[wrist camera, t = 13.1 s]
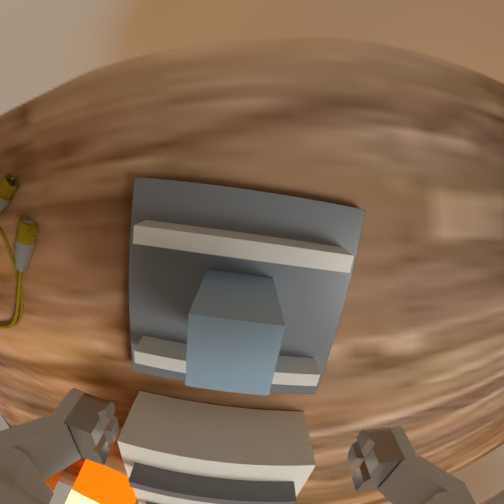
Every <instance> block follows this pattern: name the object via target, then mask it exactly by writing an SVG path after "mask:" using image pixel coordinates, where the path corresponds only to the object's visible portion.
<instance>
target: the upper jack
mask: <svg viewBox="0 0 504 504" xmlns="http://www.w3.org/2000/svg"><path fill="white" fill-rule="evenodd" d="M117 442H118V446H119V449H120V452H121V456H122V459H123V462H124V465H125V468H126V471H127V474H128V477H129V481H128V482H129V485H130V487H132V488H133V490H134V493H135V496H136V498H137V501H138V503H139V504H295V503H296V497H297V495H298V493H299V492H300V490H301V489H302V487H303V486H304V484H305V482H306V481H307V479H308V477H309V476H310V474H311V473H312V471H313V469H314V467H315V466H316V463H315V459H314V454H313V450H312V445H311V441H310V436H309V432H308V427H307V423H306V418H305V414H304V411H277V410H261V409H249V408H238V407H229V406H221V405H213V404H206V403H200V402H194V401H188V400H182V399H176V398H171V397H166V396H161V395H157V394H152V393H148V392H143V391H139V393H138V395H137V397H136V399H135V401H134V404H133V406H132V408H131V410H130V412H129V415H128V417H127V419H126V421H125V424H124V426H123V428H122V431H121V433H120V435H119V437H118V440H117Z"/></svg>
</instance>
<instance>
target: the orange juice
mask: <svg viewBox="0 0 504 504" xmlns="http://www.w3.org/2000/svg"><path fill="white" fill-rule="evenodd" d="M128 481H129V477H128V476H126V475H123V474H121V473H119V472H117V471H115V470H113V469H111V468H109V467H107V466H105V465H102V464H99V463H96V462H93V461H90V460H88V459H86V460H85V462H84V464H83V466H82V468H81V470H80V473H79V475H78V477H77V479H76V481H75V483H74V486H73V488H72V490H71V492H70V494H69V496H68V498H67V500H66V503H65V504H135V501H136V496H135V493H134V490H133V488H132V487H130V485H129V482H128Z"/></svg>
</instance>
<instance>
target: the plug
mask: <svg viewBox="0 0 504 504" xmlns="http://www.w3.org/2000/svg"><path fill="white" fill-rule="evenodd" d="M284 329H285V323H284V319H283V315H282V311H281V307H280V303H279V299H278V295H277V291H276V287H275V283H274V279H273V278H268V277H260V276H253V275H245V274H238V273H230V272H223V271H216V270H209V269H207V271H206V274H205V276H204V278H203V281H202V283H201V285H200V288H199V290H198V292H197V295H196V297H195V299H194V302H193V304H192V307H191V309H190V311H189V316H188V333H187V354H186V383H185V386H191V387H197V388H204V389H210V390H218V391H225V392H234V393H243V394H253V395H265V396H269V392H270V388H271V384H272V380H273V376H274V372H275V368H276V364H277V359H278V355H279V351H280V346H281V342H282V338H283V333H284Z"/></svg>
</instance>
